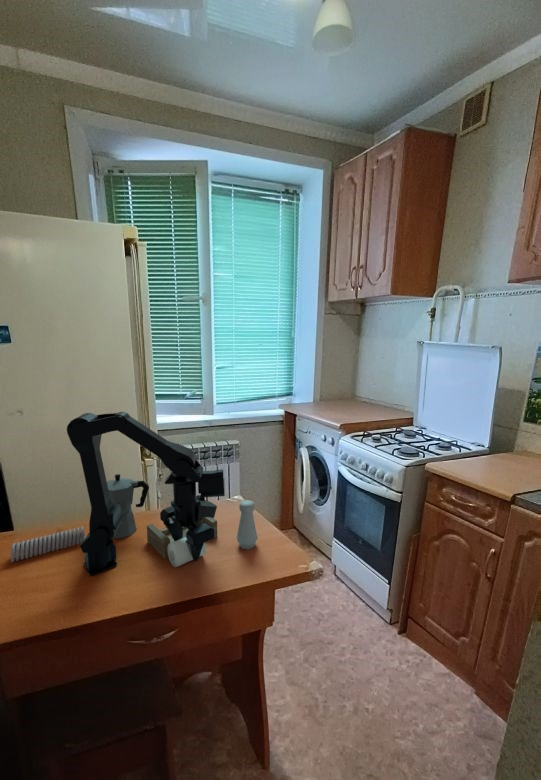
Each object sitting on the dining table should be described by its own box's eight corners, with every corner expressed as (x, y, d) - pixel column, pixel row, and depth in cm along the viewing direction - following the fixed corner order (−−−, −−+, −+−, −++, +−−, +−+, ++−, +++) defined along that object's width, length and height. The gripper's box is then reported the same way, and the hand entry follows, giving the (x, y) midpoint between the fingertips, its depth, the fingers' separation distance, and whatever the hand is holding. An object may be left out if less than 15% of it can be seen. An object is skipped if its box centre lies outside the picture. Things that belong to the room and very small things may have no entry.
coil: (8, 551, 93) (86, 531, 103) (9, 540, 97) (84, 522, 107) (10, 566, 94) (87, 545, 104) (11, 556, 98) (85, 536, 108)
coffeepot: (92, 541, 105) (88, 481, 103) (102, 524, 114) (98, 470, 112) (148, 537, 107) (145, 478, 105) (153, 521, 117) (150, 467, 114)
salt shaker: (232, 547, 102) (232, 503, 100) (243, 537, 107) (243, 496, 105) (250, 553, 99) (250, 508, 98) (261, 543, 104) (261, 500, 103)
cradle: (164, 559, 97) (164, 541, 96) (147, 541, 105) (146, 525, 104) (217, 536, 108) (217, 520, 107) (198, 522, 116) (197, 507, 115)
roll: (178, 571, 92) (177, 550, 91) (167, 560, 96) (166, 539, 95) (206, 558, 97) (206, 538, 96) (194, 548, 102) (194, 528, 101)
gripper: (231, 500, 93) (233, 556, 95) (194, 479, 106) (196, 529, 109) (193, 514, 85) (195, 575, 88) (157, 490, 99) (160, 543, 101)
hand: (187, 553), depth 96 cm, fingers open, 8 cm apart
